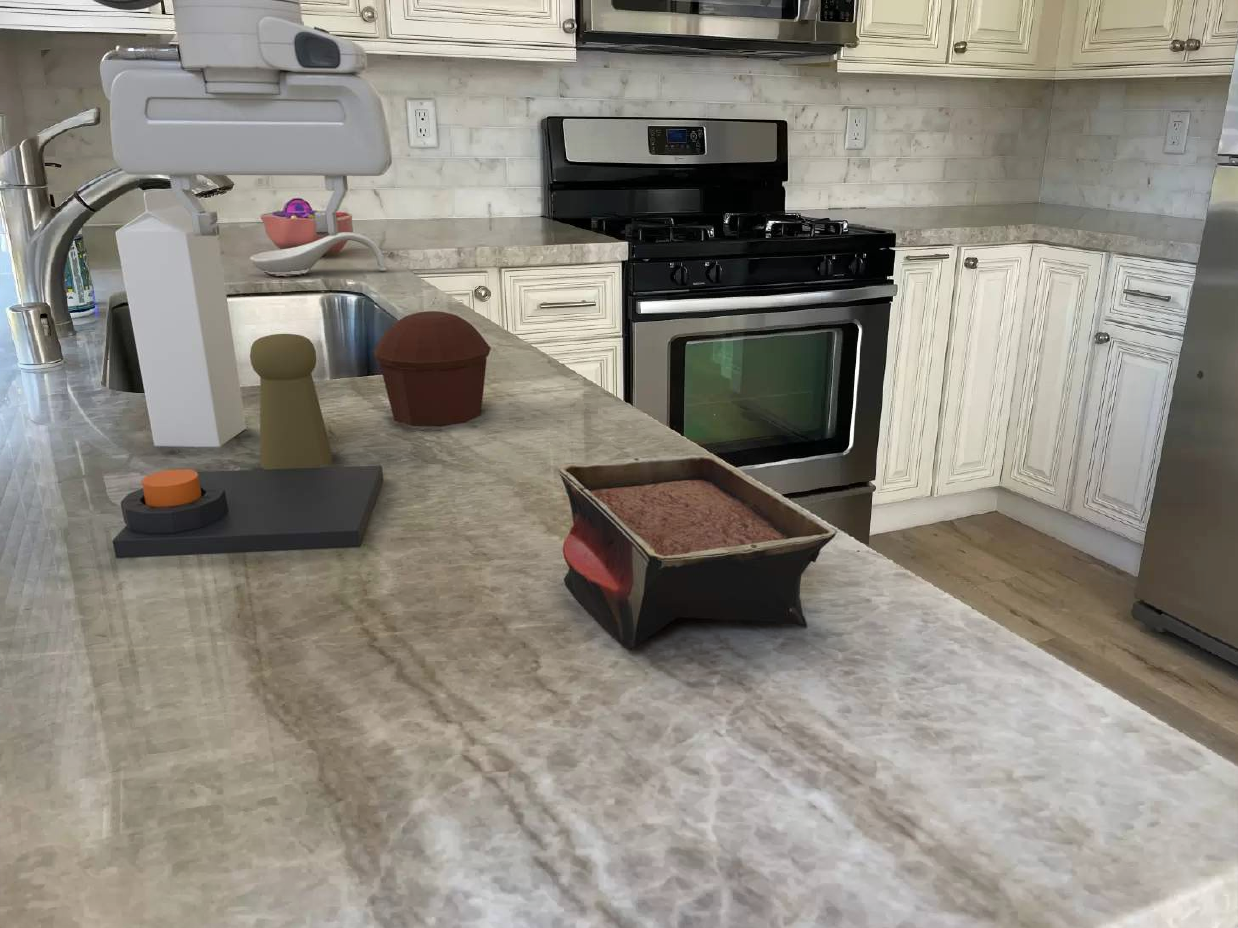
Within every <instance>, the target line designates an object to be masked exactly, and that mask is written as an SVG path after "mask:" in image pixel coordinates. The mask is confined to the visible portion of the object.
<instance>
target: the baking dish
mask: <svg viewBox="0 0 1238 928" xmlns="http://www.w3.org/2000/svg"><path fill="white" fill-rule="evenodd" d="M557 473H558V475H559V477H560V478H561V480H562V481H561V482H562V483H563V485H564V488H565V491H566V494H567V496H568V500H569V504H570V510H571V518H572V523H573V525H572V527H571V528H570V531H569V533H568V535H567V536H566V538H565V539H564V542H563V546H562V554H563V558H564V560H565V562H566V564H567V566H568V572H567V574H566V575H565V577H564V578H563V580H564V585H565V586H566V588H567V589H568V591H569V592H570V594H572V596H573V597H574V599H575V600H576V601H577V603H579V605H581V606H582V607H583V608H584V610H585V611H587V613H588V614H589V615H590V616H591V617H592V618H593V619H594V620H595V621H596V622H597V623H598V624H599V625H600V626H601V628H603V630H604V631H606V632H607V633H608V634H609V635H610V636H611V637H612V638H613V639H614V640H615V641H616V642H617V643H619V644H620V645H621V646H622V647H623V648H624V649H626V650H628V651H631V650H632V649H633V648H634V647H635V646H638V645H639V644H640V643H642V642H643V641H645V640H646V639H648V638H649V637H650V636H652V635H653V634H655V633H657V632H658V631H659V630H661V629H663V628H664V627H665V626H667V625H668V624H670V623H672V622H673V621H674V620H676V618H687V619H689V618H690V619H714V620H737V621H738V620H739V621H762V622H776V623H777V622H778V623H783V624H788V625H794V626H801V627H804V628H805V627H806V628H808V624H807V620H806V617H805V616H804V613H803V608H802V601H801V581H802V575H803V573H804V572H805V571H806V570H807V568H808V567H809V565H811V563H816V562H817V559H818V558H819V555H820V553H821V550H822V549H823V548H824V547H825V546H826V545H827V544H829V542H830V541H832V540H833V539H834V538H835V537H836V535H837V533H838V530H837V529H835V528H834V527H831V526H829V525H828V524H827V523H825V522H823V521H822V520H820V519H818V518H816V517H815V516H813V515H812V514H810V513H808V512H807V511H805V510H803V509H801V508H800V507H797V506H796V505H794V504H793V503H791V502H789V501H788V500H786V499H784V498H783V497H782V496H779V495H777V494H776V493H774V492H772V491H771V490H770V489H768V488H766V487H764V486H763V484H760V483H758V482H757V481H755V480H753V479H752V478H749V477H748V476H746V475H745V474H743V473H742V472H741V471H739V470H738V469H736V468H733V467H732V466H730V465H729V464H727V463H726V462H724V461H722V460H721V459H719V458H715V457H713V456H707V455H702V454H700V455H696V454H692V455H667V456H666V455H665V456H664V455H663V456H649V457H638V458H619V459H618V458H617V459H608V460H597V461H586V462H581V463H578V462H577V463H571V464H566V465H563V466H560V467H559V468H557Z"/></svg>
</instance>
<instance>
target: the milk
mask: <svg viewBox="0 0 1238 928" xmlns="http://www.w3.org/2000/svg"><path fill="white" fill-rule="evenodd" d="M143 202H144V208H145V211H144V212H143V213H141V214H139V216H137V217H136V218H134V219H132V220H131V221H129V222H127V224H125V225H123V226H122V227H121V228H119V229H117V230H116V231H115V239H116V245H117V250H118V254H119V260H120V265H121V271H122V276H123V282H124V287H125V293H126V298H127V304H128V309H129V315H130V320H131V325H132V330H133V336H134V342H135V347H136V353H137V358H138V364H139V369H140V374H141V379H142V384H143V390H144V395H145V396H144V397H145V403H146V407H147V413H148V418H149V423H150V428H151V434H152V441H153V445H154V447H188V448H189V447H191V448H192V447H194V448H221V447H222V446H223V445H225V444H226V443H227V442H229V441H230V440H232V439H233V438H235V437H236V436H238V435H239V434H241V433H242V432H243V431H245V430H246V428H247V426H246V419H245V411H244V404H243V397H242V392H241V391H242V390H241V384H240V378H239V371H238V364H237V358H236V351H235V344H234V338H233V330H232V323H231V315H230V310H229V303H228V297H227V290H226V285H225V283H226V282H225V277H224V276H225V275H224V270H223V263H222V256H221V249H220V243H219V236H218V235H219V234H218V235H216V236H195V234H194V230H193V223H192V217H191V213H189V212H188V211H187V210H186V208H185V207H184V206H183V205H181V202H180V201H179V199H178V198H177V197H176V195H175V194H174V193H173V191H172V189H171V187H170V188H164V189H158V190H157V189H156V190H150V191H144V193H143Z"/></svg>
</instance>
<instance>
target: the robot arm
mask: <svg viewBox="0 0 1238 928" xmlns="http://www.w3.org/2000/svg"><path fill="white" fill-rule="evenodd" d="M92 1H93V2H95V3H98V4H99V5H102V6H103V7H108V8H112V9H116V10H122V11H138V10H139V11H140V10H144V9H148V8H151V7H154V6H156V5H158V4H160V3H162V2H163V1H164V0H92ZM171 3H172V8H173V15H174V21H175V30H176V34H177V41H178V44H175V43H170V44H167V43H155V44H143V45H142V44H136V43H120V44H117V45H116V48H115V49H111V50H109V51H108V52H106V53H105V54H104V56H103V57H102V59H101V61H100V64H99V72H100V73H99V74H100V79H101V85H102V91H103V93H104V96H105V98H106V99H107V101H109V124H110V128H109V129H110V139H111V148H112V156H113V159H114V162H115V163H116V164H117V165H118V167H119V168H120V169H121V170H122V171H123V172H125V174H127V175H131V176H133V175H134V176H135V175H136V176H169V182H170V188H171V189H172V191H173V193H174V194H175V195H176V197H177V198H178V199H179V201H180V204H182V207H184V208H186V210H187V211H188V212H189V213H191V217H192V223H193V230H194V234H195V236H216V235H220V226H219V224H218V223H217V222H218V213H217V211H215V210H214V211H213V210H211V211H210V210H209V211H208V210H206V208H205V207H204V205H203V204H202V203H201V201H200V200H199V199H198V197H197V196H196V194H195V193H194V192H193V190H196V189H198V188H199V185H198V178H197V176H305V177H306V176H307V177H308V176H311V177H312V176H314V177H315V176H317V177H318V176H323V177H324V184H325V190H326V191H328V192H332V194H331V196H330V199H329V200H328V203H327V205H326V208H325V210H317V211H318V212H316V213H314V221H315V223H316V224H317V226H316V227H315V229H316V234H317V236H336V235H337V234H338V225H337V215H336V212H339V209H340V207H341V205H342V203H343V201H344V200H345V199H344V198H345V197H346V194H347V192H348V190H349V185H348V177H364V176H365V177H379V176H382V175H384V174H386V173H387V171H388V170H389V169H390V168H391V167H392V164H393V155H392V154H393V153H392V145H391V139H390V133H389V127H388V122H387V117H386V115H385V114H386V113H385V110H384V105H383V103H382V99H381V97H380V94H379V92H378V90H377V89H376V88H375V86H374V85H373V84H372V82H370V81H369V80H367V79H366V78H365V77H362V76H360V75H363V74H364V73H366V71H367V68H368V57H367V53H366V51H365V48H363V47H362V46H361V45H359V44H358V43H357V42H354V41H352V40H349V39H346V38H343V37H340V36H337V35H335V34H331V33H330V32H329V31H328V30H327V29H323V28H319V27H317V26H314V27H311V26H307V25H305V22H304V21H303V17H302V6H301V0H171ZM116 56H117V57H118V58H119V59H113V58H114V57H116Z"/></svg>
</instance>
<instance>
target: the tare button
mask: <svg viewBox="0 0 1238 928" xmlns="http://www.w3.org/2000/svg"><path fill="white" fill-rule="evenodd" d="M197 472H198V471H195V470H194V469H193V470H192V469H184V468H177V469H176V468H175V469H165V470H160V471H156V472H153V473H151V474H147V475H146V476H144V477H143V478H142V479H141V486H142V488H143V491H144V497H145V502H146V505H149V506H155V507H161V506H176V505H181V504H186V503H190V502H192V501H195V500H197V499H199V498H202V494H201V488H200V482H199V476H198V473H197Z"/></svg>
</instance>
